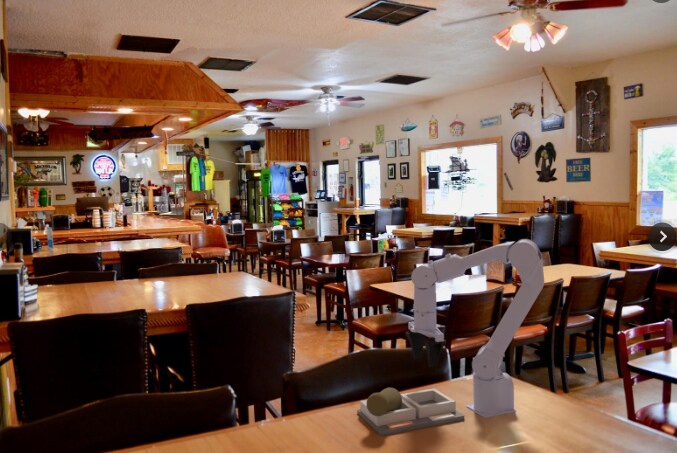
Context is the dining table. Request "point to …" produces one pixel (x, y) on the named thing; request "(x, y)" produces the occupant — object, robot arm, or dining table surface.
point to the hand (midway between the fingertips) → (425, 362)
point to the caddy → (414, 413)
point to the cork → (384, 402)
